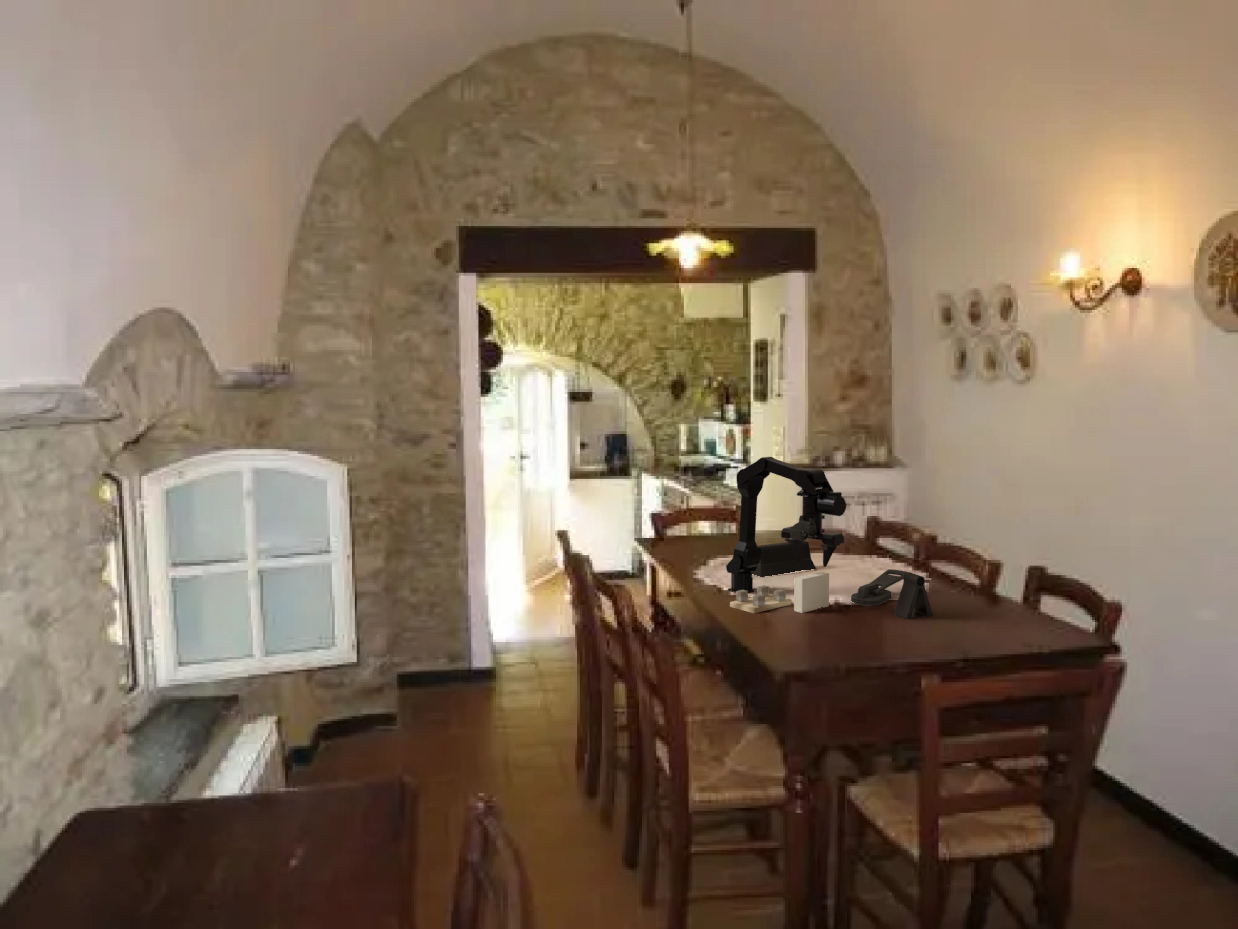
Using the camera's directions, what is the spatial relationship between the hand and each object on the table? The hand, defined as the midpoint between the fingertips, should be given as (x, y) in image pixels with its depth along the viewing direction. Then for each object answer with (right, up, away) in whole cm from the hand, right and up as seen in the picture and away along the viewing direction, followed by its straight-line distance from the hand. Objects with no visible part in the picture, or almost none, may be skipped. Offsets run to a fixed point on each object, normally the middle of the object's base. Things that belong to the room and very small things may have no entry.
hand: (811, 564), depth 288 cm
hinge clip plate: (-14, -13, +5) cm, 20 cm away
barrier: (0, -8, +52) cm, 52 cm away
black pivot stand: (+28, -14, -8) cm, 32 cm away
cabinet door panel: (0, -13, +1) cm, 13 cm away
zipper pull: (+24, -12, +14) cm, 30 cm away
